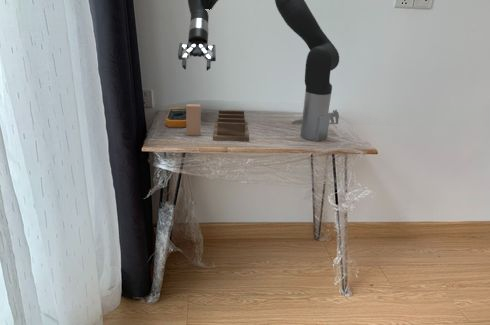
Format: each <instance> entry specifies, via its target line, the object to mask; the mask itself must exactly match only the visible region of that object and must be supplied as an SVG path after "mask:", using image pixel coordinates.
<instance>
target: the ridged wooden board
mask: <svg viewBox="0 0 490 325" xmlns="http://www.w3.org/2000/svg"><path fill="white" fill-rule="evenodd" d="M212 140H213V141H225V142H226V141H229V142H230V141H231V142H250V132H249V125H248V120H246V118H245V110H231V109H230V110H226V109H218V116H217V119H214V126H213V134H212Z"/></svg>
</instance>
